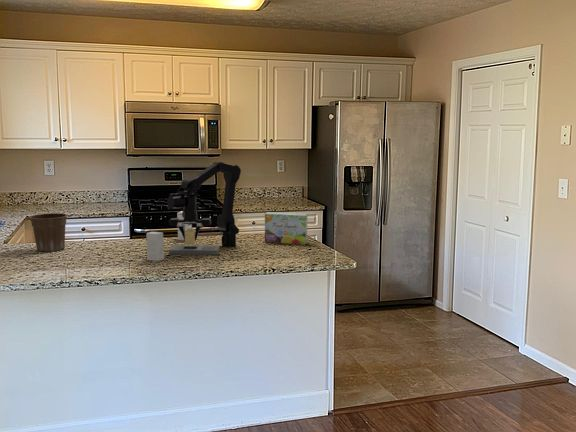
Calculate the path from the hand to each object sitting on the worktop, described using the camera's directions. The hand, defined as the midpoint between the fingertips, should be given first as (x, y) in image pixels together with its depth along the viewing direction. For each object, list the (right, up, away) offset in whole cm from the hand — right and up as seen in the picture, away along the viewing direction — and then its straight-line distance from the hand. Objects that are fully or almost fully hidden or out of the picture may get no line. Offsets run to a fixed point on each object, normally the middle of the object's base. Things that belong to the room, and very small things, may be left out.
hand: (190, 240), depth 263 cm
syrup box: (-8, -1, +31) cm, 32 cm away
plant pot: (-66, -5, +3) cm, 67 cm away
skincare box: (-13, -8, -16) cm, 21 cm away
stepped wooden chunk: (0, -2, 0) cm, 2 cm away
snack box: (+44, -2, +25) cm, 51 cm away
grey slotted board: (+2, -5, +1) cm, 6 cm away
